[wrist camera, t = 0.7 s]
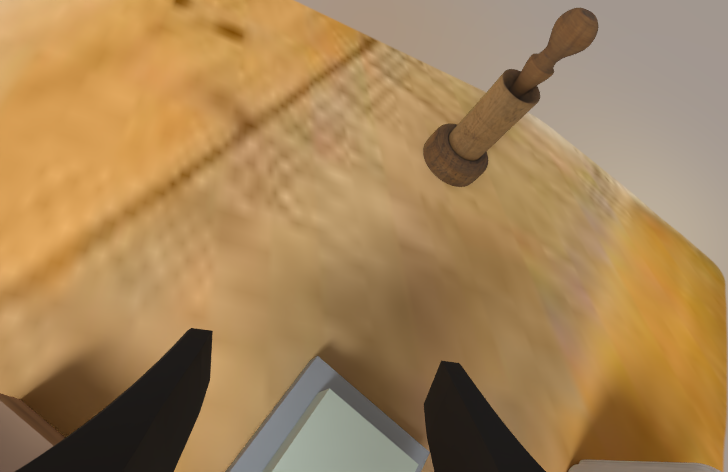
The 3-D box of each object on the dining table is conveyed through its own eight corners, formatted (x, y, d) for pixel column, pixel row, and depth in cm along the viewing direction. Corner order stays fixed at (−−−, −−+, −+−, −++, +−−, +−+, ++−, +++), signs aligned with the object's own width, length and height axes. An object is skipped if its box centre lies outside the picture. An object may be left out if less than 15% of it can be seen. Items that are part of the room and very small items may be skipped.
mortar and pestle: (420, 173, 41) (558, 20, 26) (424, 128, 44) (548, -32, 29) (475, 195, 42) (633, 62, 28) (475, 150, 46) (616, 9, 31)
